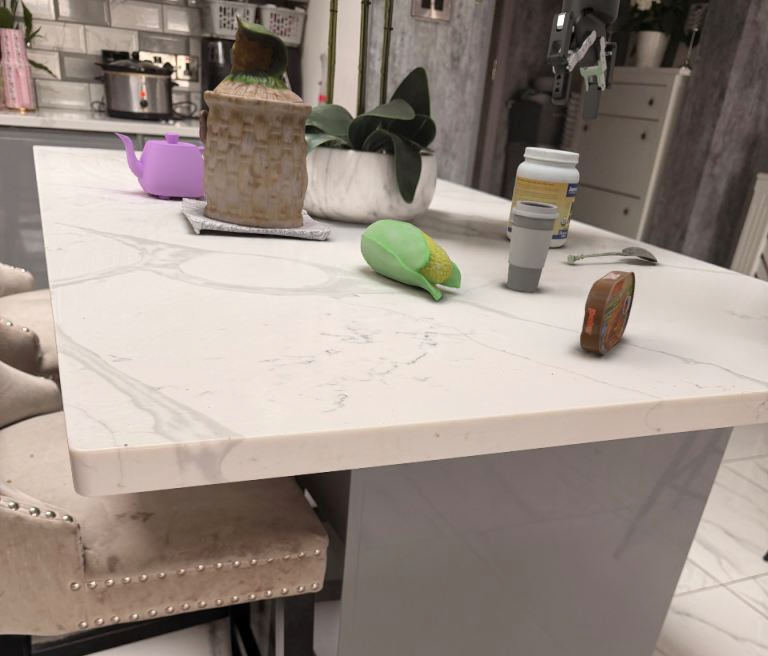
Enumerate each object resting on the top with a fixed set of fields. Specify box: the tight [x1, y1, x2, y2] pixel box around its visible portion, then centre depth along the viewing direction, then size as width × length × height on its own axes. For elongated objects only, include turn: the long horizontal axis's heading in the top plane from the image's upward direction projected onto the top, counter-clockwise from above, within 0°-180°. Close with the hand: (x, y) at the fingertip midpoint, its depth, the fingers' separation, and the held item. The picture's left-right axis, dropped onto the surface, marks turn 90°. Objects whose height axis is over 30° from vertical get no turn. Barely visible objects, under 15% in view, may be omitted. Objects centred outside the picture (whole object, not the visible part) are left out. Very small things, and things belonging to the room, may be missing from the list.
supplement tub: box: [506, 146, 580, 248], centre depth 150 cm, size 12×12×17 cm
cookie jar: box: [181, 14, 331, 241], centre depth 131 cm, size 25×25×32 cm
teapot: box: [114, 132, 206, 200], centre depth 155 cm, size 20×13×12 cm, turn 120°
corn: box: [360, 218, 462, 302], centre depth 110 cm, size 8×8×20 cm
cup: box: [506, 201, 560, 293], centre depth 113 cm, size 7×7×12 cm
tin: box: [579, 270, 636, 356], centre depth 91 cm, size 15×3×8 cm, turn 151°
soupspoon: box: [566, 246, 659, 265], centre depth 142 cm, size 22×3×7 cm
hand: (574, 112), depth 107 cm, fingers open, 8 cm apart
